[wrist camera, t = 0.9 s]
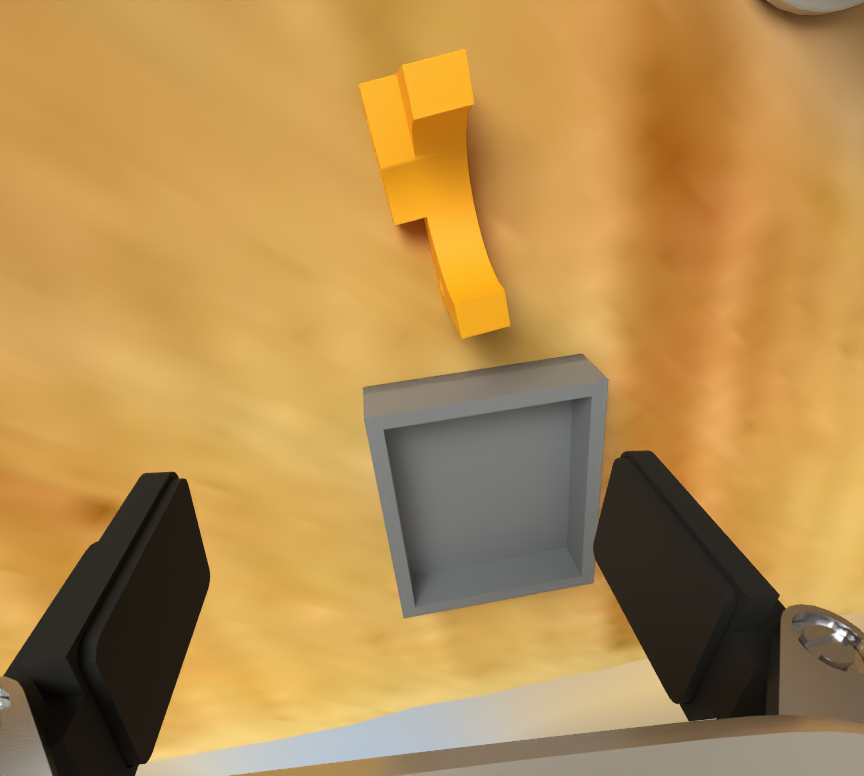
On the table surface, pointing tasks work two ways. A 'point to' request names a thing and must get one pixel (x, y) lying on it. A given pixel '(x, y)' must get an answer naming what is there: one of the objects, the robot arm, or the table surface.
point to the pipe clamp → (436, 180)
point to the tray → (489, 480)
